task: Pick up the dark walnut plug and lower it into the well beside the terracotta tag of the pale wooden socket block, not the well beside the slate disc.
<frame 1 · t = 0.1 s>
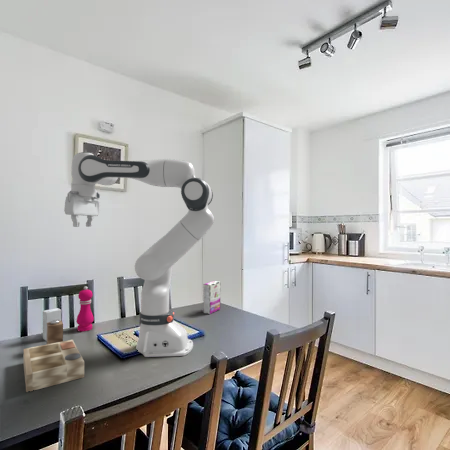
hand: (82, 226, 122), 48 cm above the table, tool pointing down, fingers open, 8 cm apart
skincare box: (51, 338, 128), on the table
pepper mill: (84, 329, 139), on the table
tag socket block: (52, 369, 100), on the table
candy bar box: (211, 311, 171), on the table
plug: (54, 348, 117), on the table
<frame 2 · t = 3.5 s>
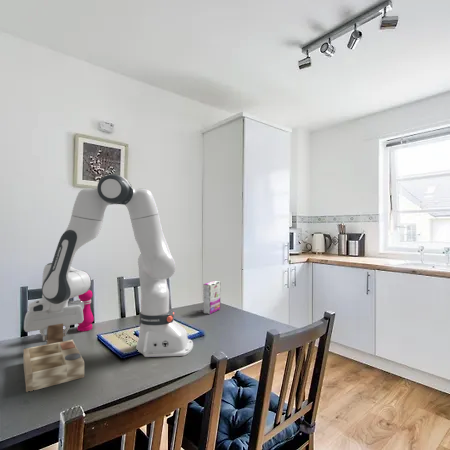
hand: (54, 338, 117), 4 cm above the table, tool pointing down, fingers closed on plug, 5 cm apart
plug: (54, 348, 117), on the table, touching gripper
everything else where it was.
when the fingers open (7 cm above the table, at t = 11.1 s): plug drops 2 cm, resting on tag socket block.
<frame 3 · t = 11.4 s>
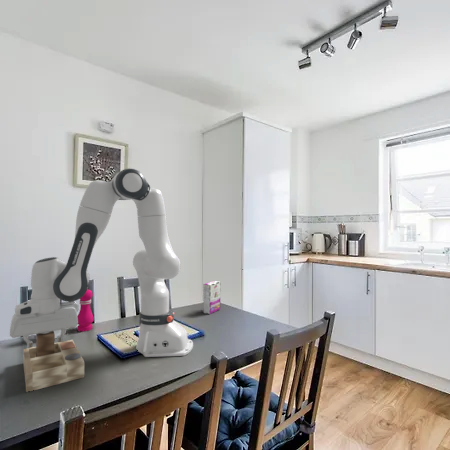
hand: (45, 344, 104), 7 cm above the table, tool pointing down, fingers open, 8 cm apart
plug: (45, 361, 104), point 1 cm above the table, touching tag socket block
everything else where it was.
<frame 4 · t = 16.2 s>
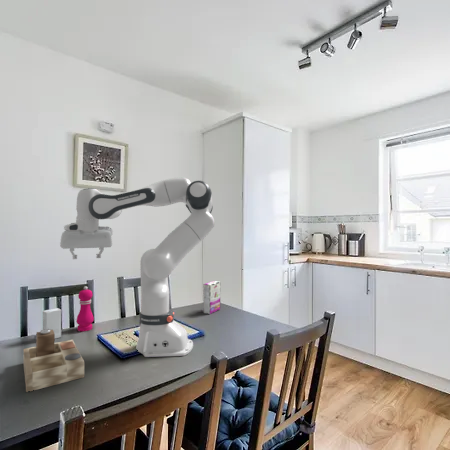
hand: (86, 258, 128), 34 cm above the table, tool pointing down, fingers open, 8 cm apart
nothing on the table moved.
at the end: plug 0.1 cm from the target spot on the tag socket block, point 1.0 cm above the tag socket block's base; plug tilted 0°; the gripper is holding nothing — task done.
